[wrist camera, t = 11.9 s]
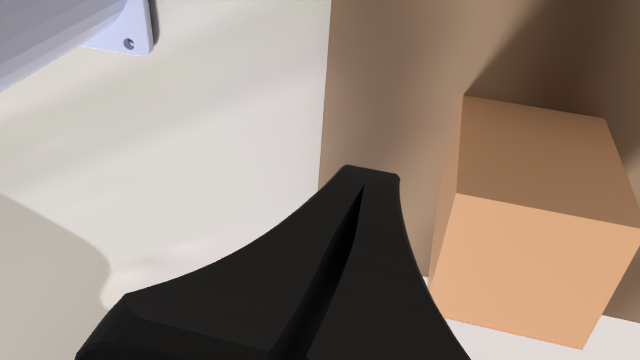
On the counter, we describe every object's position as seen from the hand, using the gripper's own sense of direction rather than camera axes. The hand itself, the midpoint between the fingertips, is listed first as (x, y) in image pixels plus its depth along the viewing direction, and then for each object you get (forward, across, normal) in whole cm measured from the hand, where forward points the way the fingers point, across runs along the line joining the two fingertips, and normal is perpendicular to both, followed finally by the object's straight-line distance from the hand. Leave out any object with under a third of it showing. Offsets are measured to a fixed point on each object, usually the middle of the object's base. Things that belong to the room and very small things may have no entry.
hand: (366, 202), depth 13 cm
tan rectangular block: (+9, -5, +4) cm, 11 cm away
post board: (+10, -5, +4) cm, 12 cm away
